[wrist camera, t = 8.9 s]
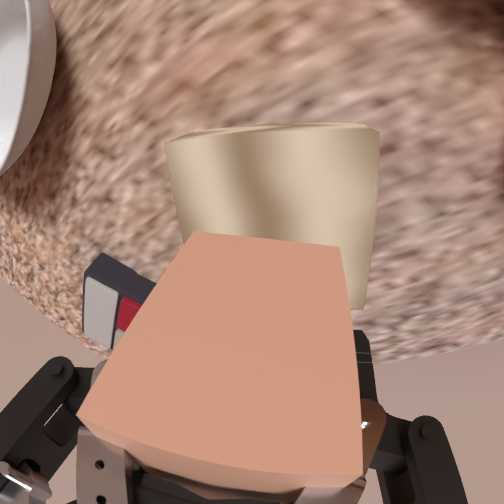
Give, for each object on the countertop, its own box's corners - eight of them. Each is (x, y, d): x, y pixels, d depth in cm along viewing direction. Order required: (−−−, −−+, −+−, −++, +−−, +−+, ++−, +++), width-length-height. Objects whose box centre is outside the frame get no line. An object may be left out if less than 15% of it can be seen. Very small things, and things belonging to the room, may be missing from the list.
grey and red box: (191, 391, 31) (79, 337, 29) (199, 364, 35) (94, 314, 33) (225, 345, 25) (79, 274, 23) (233, 313, 29) (101, 250, 27)
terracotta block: (339, 246, 10) (362, 474, 4) (315, 346, 13) (304, 511, 6) (193, 231, 11) (75, 415, 4) (203, 331, 14) (145, 481, 7)
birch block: (361, 123, 18) (379, 132, 13) (354, 270, 23) (363, 309, 19) (193, 131, 20) (164, 143, 16) (216, 269, 26) (199, 306, 21)
